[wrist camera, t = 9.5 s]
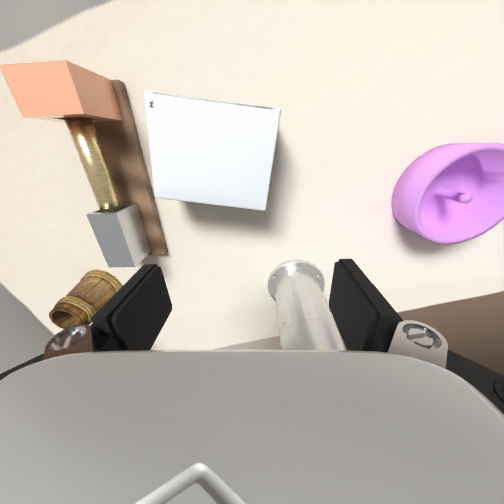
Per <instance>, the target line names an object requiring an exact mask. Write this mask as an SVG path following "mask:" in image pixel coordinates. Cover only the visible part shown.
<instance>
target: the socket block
mask: <svg viewBox="0 0 504 504" xmlns="http://www.w3.org/2000/svg"><path fill="white" fill-rule="evenodd" d="M0 69H1V71H2V73H3V75H4V78H5V80H6V82H7V84H8V86H9V88H10V90H11V93H12V95H13V97H14V99H15V101H16V103H17V105H18V108H19V110H20V112H21V114H22V116H23V117H26V118H34V119H43V120H51V121H60V122H65V120H64V117H80V116H82V117H88V118H92V121H93V122H105V121H123V120H122V117H121V113H120V110H119V106H118V102H117V99H116V95H115V92H114V88H113V85H112V81H111V80H109V79H107V78H105V77H103V76H100V75H98V74H96V73H93V72H91V71H89V70H87V69H84V68H82V67H80V66H77V65H75V64H73V63H71V62H68V61H66V60H63V61H49V62H35V63H21V64H7V65H0Z"/></svg>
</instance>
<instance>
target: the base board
mask: <svg viewBox="0 0 504 504" xmlns="http://www.w3.org/2000/svg"><path fill="white" fill-rule="evenodd" d="M111 81H112V85H113V88H114V92H115V95H116V99H117V102H118V106H119V110H120V113H121V117H122V120H123V121H105V122H93V123H94V126H95V129H96V132H97V135H98V138H99V141H100V144H101V147H102V150H103V153H104V156H105V159H106V162H107V165H108V168H109V171H110V174H111V177H112V180H113V183H114V186H115V189H116V192H117V195H118V198H119V201H120V204H122V203H138V205H139V209H140V212H141V215H142V219H143V222H144V225H145V229H146V232H147V235H148V239H149V242H150V245H151V249H152V251H151V252H150V253H149V254H148V255H164V254H166V253H167V247H166V243H165V239H164V235H163V231H162V228H161V224H160V220H159V216H158V212H157V208H156V204H155V201H154V197H153V193H152V189H151V185H150V181H149V177H148V174H147V170H146V166H145V162H144V158H143V154H142V150H141V147H140V143H139V139H138V135H137V131H136V127H135V124H134V120H133V116H132V112H131V108H130V104H129V100H128V97H127V93H126V89H125V85H124V82H121V81H119V80H111Z"/></svg>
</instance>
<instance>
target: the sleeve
mask: <svg viewBox="0 0 504 504" xmlns="http://www.w3.org/2000/svg"><path fill="white" fill-rule="evenodd" d="M121 206H122V209H121V210H119V211H117V212H105V213H101V212H100V209H98V210H95V211H93V212H90V213H88V214H86V215H87V217H88V219H89V222H90V224H91V227H92V229H93V231H94V234H95V236H96V238H97V241H98V243H99V245H100V248H101V250H102V252H103V255H104V257H105V259H106V262H107V264H108V267H136V266H137V265H138V264H139V263H140V262H141V261H142V260H143V259H144V258H145V257H146V256H147V255H148V254H149V253H150V252H151V251H152V249H151V245H150V242H149V239H148V235H147V232H146V229H145V225H144V222H143V219H142V215H141V212H140V209H139V205H138V203H122V204H121Z"/></svg>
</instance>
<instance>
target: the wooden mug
mask: <svg viewBox="0 0 504 504" xmlns="http://www.w3.org/2000/svg"><path fill="white" fill-rule="evenodd" d="M121 288H122V286H121V284H120V283H119V281H118V280H117V279H116V278H115V277H114V276H112V275H110V274H108V273H106V272H104V271H100V270H93V271H90V272H88V273H86V275H85V276H84V277H83V278H82V279H81V281H80V282H79V283H78V284H77V285H76V286H75V287H74V288H73V289H72V290H71V291H70V292H69V294H68V295H67V296H66V297H63V298H62V299H60V300H59V301H58V302H57V304H56V305H55V307H54V309H53V310H52V311H51V312H50V313H49V317H50V319H51V321H52V322H53V323H54V324H56V325H57V326H58V327H60V328H63V329H66V328H68V327H71V326H74V325H78V324H87V325H89V324H90V323H92V322H93V321H92V319H91V318H92V317H93V316H94V315H95V314H96V313H97V312H98V311H99V310H100V309H101V308H102V307H103V306H104V305H105V304H106V303H107V302H108V301H109V300H110V299H111V298H112V297H113V296H114V295H115V294H116V293H117V292H118V291H119V290H120V289H121Z"/></svg>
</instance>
